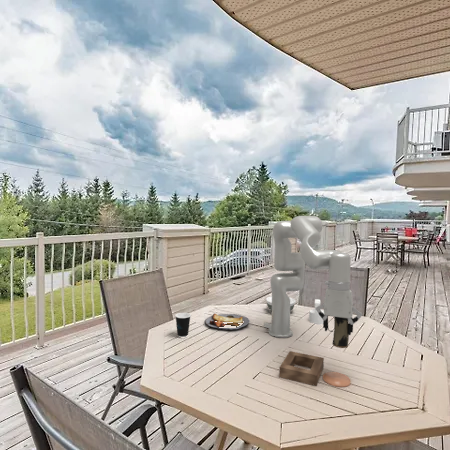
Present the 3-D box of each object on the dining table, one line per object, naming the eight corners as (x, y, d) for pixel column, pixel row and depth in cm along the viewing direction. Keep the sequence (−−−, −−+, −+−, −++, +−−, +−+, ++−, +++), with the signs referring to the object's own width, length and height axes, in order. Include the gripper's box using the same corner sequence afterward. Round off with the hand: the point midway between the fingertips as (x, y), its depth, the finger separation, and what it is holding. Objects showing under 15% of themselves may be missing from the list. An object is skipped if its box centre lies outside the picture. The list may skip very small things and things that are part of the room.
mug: (346, 342, 123) (347, 311, 123) (350, 348, 118) (351, 316, 117) (325, 341, 124) (325, 310, 123) (328, 347, 118) (329, 315, 118)
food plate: (198, 328, 173) (198, 322, 173) (212, 315, 196) (212, 310, 196) (243, 334, 166) (243, 327, 166) (252, 320, 188) (253, 314, 188)
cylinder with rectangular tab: (325, 325, 181) (325, 304, 181) (308, 323, 184) (309, 302, 183) (325, 320, 190) (325, 300, 189) (309, 318, 192) (309, 298, 192)
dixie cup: (190, 333, 166) (191, 312, 166) (190, 339, 158) (190, 317, 158) (175, 333, 165) (175, 312, 165) (174, 339, 157) (174, 317, 157)
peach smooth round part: (320, 383, 119) (320, 381, 119) (324, 371, 128) (324, 369, 128) (349, 389, 115) (349, 388, 115) (351, 377, 124) (351, 375, 124)
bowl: (277, 318, 191) (277, 305, 190) (259, 310, 207) (260, 297, 207) (301, 314, 199) (301, 301, 199) (283, 306, 216) (283, 294, 216)
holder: (279, 377, 123) (279, 367, 123) (289, 360, 137) (289, 351, 137) (316, 386, 117) (316, 375, 116) (323, 367, 131) (323, 357, 131)
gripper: (313, 285, 120) (312, 331, 121) (363, 290, 113) (362, 339, 113) (317, 281, 127) (315, 325, 128) (364, 286, 119) (363, 332, 120)
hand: (337, 331), depth 121 cm, fingers closed on mug, 7 cm apart
